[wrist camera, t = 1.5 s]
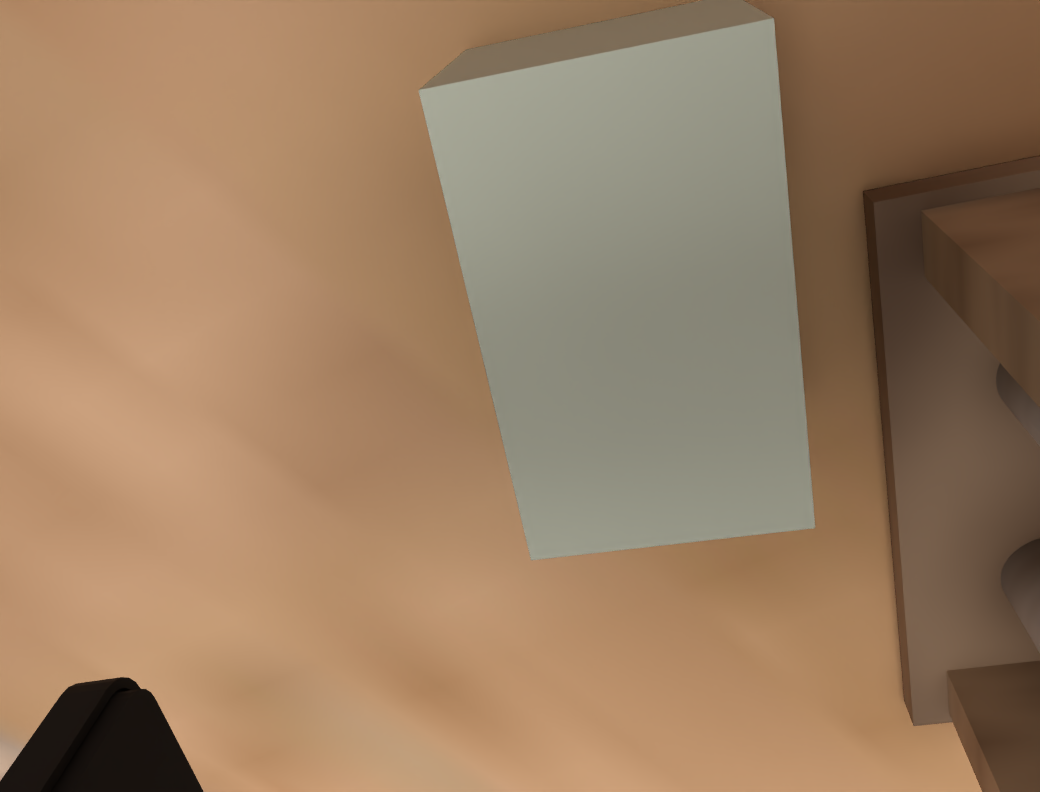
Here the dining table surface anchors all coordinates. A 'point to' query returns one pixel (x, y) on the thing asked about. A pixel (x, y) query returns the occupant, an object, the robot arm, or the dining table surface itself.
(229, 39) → the dining table surface
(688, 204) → the grey green block
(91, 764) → the robot arm
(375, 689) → the dining table surface
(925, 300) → the peg stand
